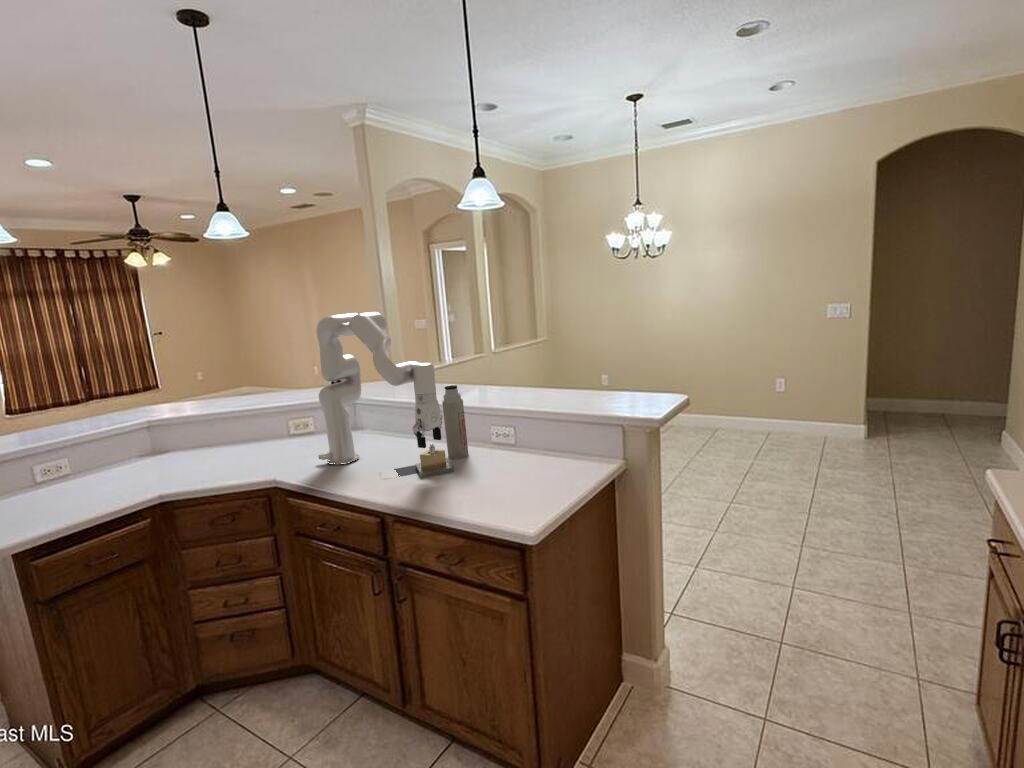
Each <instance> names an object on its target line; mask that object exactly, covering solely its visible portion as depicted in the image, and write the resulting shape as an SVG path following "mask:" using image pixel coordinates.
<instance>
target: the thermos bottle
mask: <svg viewBox="0 0 1024 768" xmlns="http://www.w3.org/2000/svg"><path fill="white" fill-rule="evenodd" d="M444 393H445V394H444V395H443V396H442V398H443V400H442V402H441V403H442V410H443V411H442V412H443V421H444V430H445V438H446V439H445V440H446V447H447V455H448V456H447V458H449V457H450V459H453V458H458V459H463V458H465V456H466V457H468V456H469V447H468V436H467V429H466V427H467V426H466V417H465V408H464V399H463V398H462V396H461V393H460V392H459V390H458V385H455V384H452V385H446V386H444ZM467 455H468V456H467ZM462 457H463V458H462Z"/></svg>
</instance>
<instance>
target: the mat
mask: <svg viewBox="0 0 1024 768" xmlns="http://www.w3.org/2000/svg"><path fill="white" fill-rule="evenodd" d="M393 469H394V470H396V472H397V473H398V476H399V475H400V476H401V477H405V476H406V477H407V476H411V475H416V474H419V473H418V472H417V470H416V466H415V464H414V465H409V466H404V467H398V468H393ZM400 476H399V477H398V478H400Z"/></svg>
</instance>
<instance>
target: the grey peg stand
mask: <svg viewBox="0 0 1024 768" xmlns="http://www.w3.org/2000/svg"><path fill="white" fill-rule="evenodd" d="M428 448H429V449H430V454H434V453H435V449H436V446H435V445H434V443H430V445H429V447H428ZM429 449H428V450H429ZM414 465H415V466H416V470H417V472H418V473H417V474H418V475H419V477H420V478H421V479H425V478H429V477H436V476H440V475H444V474H445V475H446V474H451V473H455V466H454V465H453V464H452V463H451V462H450V460H449V459H448V457H447V458H446V464H444V465H442V466H441V467H439V468H437V469H429V468H421V462H419V463H414Z"/></svg>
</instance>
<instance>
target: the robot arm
mask: <svg viewBox="0 0 1024 768" xmlns="http://www.w3.org/2000/svg"><path fill="white" fill-rule="evenodd" d="M386 329H387V321H386V318H385V317H384V315H383V314H381V313H379V312H378V311H369V312H349V313H341V314H340V313H338V314H332V315H326V316H324V317H323V318H321V319H320V320H319V321H318V323H317V325H316V330H315V332H316V338H317V342H318V346H319V358H320V359H319V360H320V372H321V376H322V378H323V380H324V381H326V382H335V383H332V384H328V385H325V386H323V387H322V388H321V389H320V390H319V392H318V401H319V404H320V407H321V409H322V414H323V418H324V423H325V424H324V425H325V429H326V435H327V442H328V449H329V450H328V452H326V453H322V454H318V455H317V456H318V460H322V461H324V460H326V462H329V463H333V464H334V463H335V464H341V463H348V462H352V461H355V460H357V459H358V460H359V459H360V454H359V453H356V451H355V443H354V438H353V437H354V436H353V431H352V429H353V428H352V424H351V416H350V414H349V412H348V411H347V409H346V408H345V406H348V405H351V404H353V403H356V402H357V401H359V400H360V398H361V395H362V382H361V381H362V380H361V377H362V376H361V367H360V366H361V365H360V362H359V361H358V359H357V357H355V356H354V355H353V354H344V352H343V351H344V350H343V345H342V342H341V340H340V339H339V338H340V337H348V336H354V335H355V336H356V337H357V338H358V339H359V340H360V342H362V344H363V345H364V346H365V347H367V349H368V350H369V351H370V353H372V361H373V366H374V367H375V370H376V372H377V373H378V374H379V375H380V377H381V378H383V379H384V380H385V382H387V383H388V384H389V385H392V386H395V387H399V386H402V385H405V384H409V383H413V388H414V389H413V390H414V400H415V406H414V408H415V409H414V414H415V415H414V419H415V424H414V425H412V427H411V429H412V431H413V434H414V435H415V437H416V441H417V448H421V449H426V448H427V440H426V437H425V436H426V435H425V434H426V432H429V431H431V430H432V438H433V440H434V441H435V440H436V441H441V440H442V424H443V418H444V415H443V414H442V413H441V407H440V403H439V401H438V399H437V388H436V378H435V377H436V375H435V366H434V364H433V363H432V362H419V361H414V360H408V361H406V362H405V361H404V362H400V363H394V362H393V361H392V359H390V357H388V355H387V353H386V352H387V350H388V349H390V346H391V344H392V339H391V336H389V335H388V334H387V333H386V332H385V330H386ZM337 381H340V382H337ZM328 460H330V461H328ZM358 460H357V461H358ZM355 462H356V461H355ZM352 463H353V462H352Z"/></svg>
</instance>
